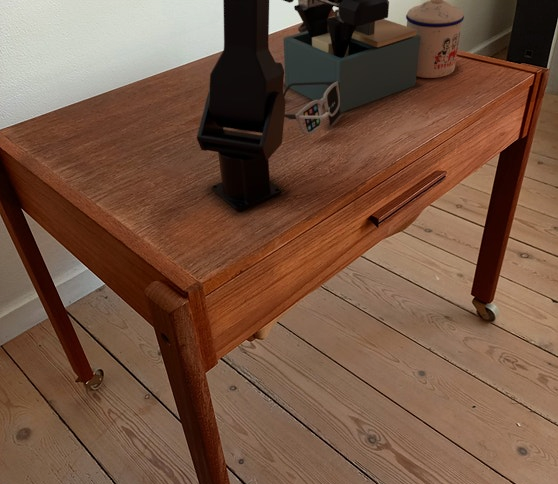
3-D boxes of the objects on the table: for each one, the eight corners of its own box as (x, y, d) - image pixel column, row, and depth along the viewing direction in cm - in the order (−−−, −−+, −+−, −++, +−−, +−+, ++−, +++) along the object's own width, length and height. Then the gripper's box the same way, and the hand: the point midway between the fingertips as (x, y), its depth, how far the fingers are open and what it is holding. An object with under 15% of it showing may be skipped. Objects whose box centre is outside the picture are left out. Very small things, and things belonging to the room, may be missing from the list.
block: (348, 64, 91) (349, 37, 88) (328, 71, 89) (328, 44, 87) (332, 57, 93) (332, 31, 91) (312, 63, 92) (311, 37, 89)
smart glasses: (328, 148, 79) (321, 113, 76) (244, 144, 87) (235, 112, 84) (367, 111, 86) (362, 78, 83) (286, 111, 94) (279, 80, 91)
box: (415, 85, 95) (420, 35, 90) (338, 113, 88) (340, 61, 83) (358, 62, 104) (360, 15, 99) (285, 86, 97) (283, 37, 92)
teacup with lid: (440, 83, 95) (451, 6, 87) (391, 72, 99) (397, -2, 92) (472, 60, 102) (484, -13, 94) (424, 51, 106) (433, -20, 99)
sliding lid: (416, 35, 89) (418, 15, 87) (377, 47, 86) (378, 27, 84) (356, 14, 98) (356, -4, 96) (318, 25, 95) (318, 7, 93)
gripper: (423, -57, 78) (411, 61, 88) (334, -75, 90) (333, 31, 100) (359, -43, 73) (354, 80, 83) (275, -63, 85) (279, 47, 95)
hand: (330, 57), depth 91 cm, fingers closed on block, 4 cm apart
